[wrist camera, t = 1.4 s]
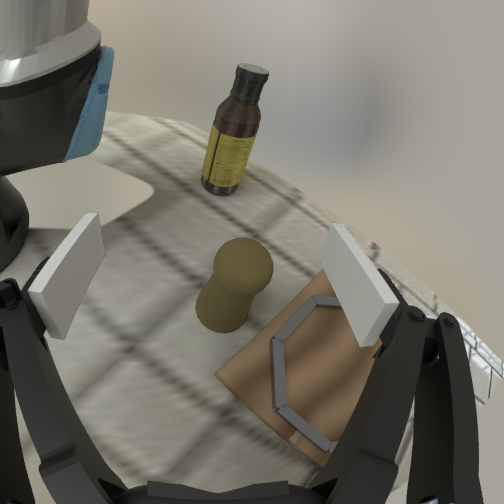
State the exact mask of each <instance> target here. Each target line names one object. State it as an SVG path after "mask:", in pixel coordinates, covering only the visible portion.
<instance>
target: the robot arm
mask: <svg viewBox="0 0 504 504" xmlns="http://www.w3.org/2000/svg"><path fill="white" fill-rule="evenodd" d="M89 1H90V0H0V271H2V270H3V269H4V268H5V267H6V266H7V265H8V264H9V263H10V262H11V261H12V259H13V258H14V257H15V256H16V254H17V253H18V251H19V250H20V248H21V246H22V244H23V242H24V240H25V237H26V234H27V231H28V227H29V212H28V209H27V207H26V204H25V201H24V199H23V197H22V195H21V194H20V193H19V191H18V190H17V189H16V188H15V187H14V186H13V185H12V184H11V183H10V181H9V180H8V179H7V178H6V177H5V176H6V175H9V174H13V173H17V172H21V171H25V170H28V169H33V168H37V167H41V166H46V165H51V164H56V163H63V162H66V161H67V160H70V159H74V158H77V157H81V156H85V155H88V154H90V153H91V152H93V151H94V150H95V149H96V148H97V147H98V145H99V143H100V140H101V136H102V131H103V126H104V120H105V113H106V106H107V99H108V89H109V84H110V79H111V74H112V67H113V60H114V50H113V49H112V48H111V47H107V46H101V47H100V42H101V32H100V30H99V29H98V28H97V27H96V26H94V25H93V24H92V23H90V22H89V21H88V20H87V15H88V7H89ZM104 256H105V250H104V245H103V239H102V234H101V228H100V222H99V215H98V213H86V214H85V215H84V216H83V218H82V219H81V220H80V221H79V222H78V223H77V224H76V226H75V227H74V228H73V229H72V230H71V232H70V233H69V234H68V235H67V237H66V238H65V239H64V240H63V242H62V243H61V244H60V245H59V247H58V248H57V249H56V251H55V252H54V253H53V255H52V256H51V257H47V258H46V259H45V260H43V261H42V262H41V263H40V264H39V265H38V267H37V268H36V271H34V272H33V274H32V277H30V278H29V280H28V281H27V282H26V284H25V285H24V287H23V288H22V290H21V291H20V289H19V286H18V284H17V282H16V280H15V279H13V278H8V279H5V280H3V281H1V282H0V504H35V499H34V495H33V492H32V488H31V484H30V481H29V478H28V474H27V470H26V466H25V462H24V458H23V453H22V448H21V443H20V437H19V431H18V424H17V416H16V407H15V394H14V388H15V392H16V395H17V399H18V402H19V405H20V408H21V411H22V414H23V417H24V420H25V423H26V426H27V428H28V431H29V434H30V436H31V439H32V441H33V443H34V446H35V448H36V450H37V453H38V455H39V457H40V460H41V464H40V465H39V472H40V475H41V477H42V479H43V481H44V483H45V485H46V487H47V489H48V491H49V492H50V494H51V496H52V498H53V499H54V501H55V503H56V504H385V502H386V500H387V498H388V496H389V493H390V491H391V489H392V487H393V484H394V482H395V479H396V477H397V474H398V466H397V465H396V464H395V457H396V454H397V452H398V449H399V446H400V443H401V440H402V437H403V434H404V431H405V428H406V425H407V421H408V418H409V414H410V411H411V407H412V403H413V399H414V395H415V405H414V434H413V447H412V458H411V467H410V474H409V481H408V489H407V501H406V503H407V504H484V503H483V497H482V491H481V486H480V481H479V476H478V472H479V470H478V469H479V441H478V424H477V413H476V404H475V396H474V389H473V383H472V377H471V372H470V367H469V362H468V357H467V353H466V348H465V344H464V340H463V336H462V333H461V329H460V325H459V323H458V321H457V320H456V318H455V317H454V316H453V315H451V314H449V313H445V312H443V313H440V315H439V316H438V318H437V319H436V320H435V319H430V318H427V317H426V316H425V314H424V313H423V312H422V311H421V310H420V309H419V308H417V307H414V306H408V304H407V303H406V301H405V300H404V298H403V297H402V295H401V294H400V292H399V291H398V289H397V288H396V286H395V285H394V284H393V283H392V281H391V279H390V278H389V277H388V275H387V274H386V273H384V272H383V271H382V270H381V269H376V267H375V266H374V264H373V263H372V262H371V260H370V259H369V258H368V256H367V255H366V253H365V252H364V251H363V249H362V248H361V247H360V245H359V244H358V243H357V241H356V240H355V239H354V237H353V236H352V235H351V234H350V232H349V231H348V230H347V228H346V227H345V226H344V225H343V224H338V223H331V226H330V229H329V233H328V237H327V240H326V244H325V247H324V250H323V254H322V257H321V261H320V263H321V265H322V267H323V269H324V271H325V273H326V275H327V277H328V279H329V281H330V283H331V285H332V288H333V290H334V292H335V294H336V296H337V298H338V300H339V302H340V304H341V306H342V308H343V311H344V313H345V315H346V317H347V319H348V321H349V324H350V326H351V328H352V330H353V332H354V335H355V337H356V339H357V341H358V343H359V346H360V347H366V346H373V345H374V344H375V343H376V341H377V339H378V338H379V337H380V339H381V341H382V344H381V346H380V347H379V349H378V350H377V352H376V353H375V354H374V356H373V357H372V358H375V357H376V358H375V360H374V363H373V366H372V368H371V371H370V374H369V376H368V379H367V381H366V384H365V386H364V388H363V391H362V393H361V395H360V398H359V400H358V402H357V404H356V407H355V409H354V411H353V413H352V415H351V417H350V419H349V421H348V423H347V425H346V427H345V429H344V431H343V433H342V435H341V437H340V439H339V441H338V443H337V445H336V447H335V448H334V450H333V452H332V454H331V456H330V457H329V459H328V461H327V462H326V464H325V466H324V467H323V468H322V470H321V471H320V472H319V473H318V474H317V475H316V476H315V477H314V479H313V480H312V481H311V483H310V484H309V486H308V487H307V488H304V487H301V486H296V485H289V484H288V480H287V481H280V482H272V483H262V484H253V485H250V486H246V487H243V488H239V489H235V490H232V491H228V492H223V493H213V492H208V491H204V490H200V489H196V488H192V487H189V486H185V485H181V484H170V483H160V482H152V481H148V482H147V485H143V486H138V487H134V488H131V489H128V488H127V487H126V486H125V484H124V483H123V482H122V481H121V479H120V478H119V477H118V476H117V475H116V474H115V473H114V472H113V471H112V470H111V469H110V468H109V467H108V465H107V464H106V462H105V461H104V459H103V458H102V456H101V455H100V453H99V452H98V450H97V449H96V447H95V445H94V444H93V442H92V440H91V439H90V437H89V435H88V434H87V432H86V430H85V428H84V426H83V425H82V423H81V421H80V419H79V417H78V415H77V413H76V411H75V409H74V407H73V405H72V403H71V401H70V399H69V397H68V395H67V393H66V390H65V388H64V386H63V384H62V381H61V379H60V376H59V374H58V371H57V369H56V366H55V364H54V361H53V358H52V356H51V353H50V350H49V347H48V344H47V341H46V339H45V337H44V336H43V335H44V332H45V330H46V329H47V331H48V333H49V335H50V336H51V338H56V339H61V340H64V339H65V337H66V334H67V332H68V330H69V327H70V325H71V323H72V320H73V318H74V316H75V314H76V311H77V309H78V307H79V305H80V303H81V301H82V298H83V296H84V294H85V292H86V290H87V288H88V286H89V284H90V282H91V280H92V278H93V276H94V274H95V272H96V271H97V269H98V267H99V265H100V263H101V261H102V259H103V258H104ZM438 356H439V359H438Z"/></svg>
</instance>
